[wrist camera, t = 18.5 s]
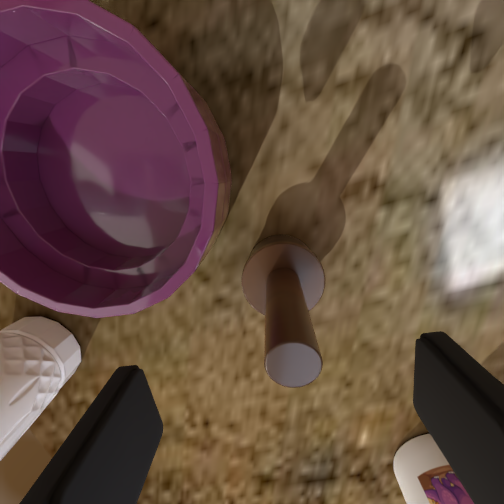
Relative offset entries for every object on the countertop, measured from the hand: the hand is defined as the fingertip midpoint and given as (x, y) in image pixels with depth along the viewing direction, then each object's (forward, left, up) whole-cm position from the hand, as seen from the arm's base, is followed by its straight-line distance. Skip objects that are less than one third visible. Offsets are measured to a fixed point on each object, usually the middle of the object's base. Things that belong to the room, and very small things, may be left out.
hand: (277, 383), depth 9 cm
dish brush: (+1, 0, -11) cm, 11 cm away
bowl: (-9, +8, -11) cm, 17 cm away
